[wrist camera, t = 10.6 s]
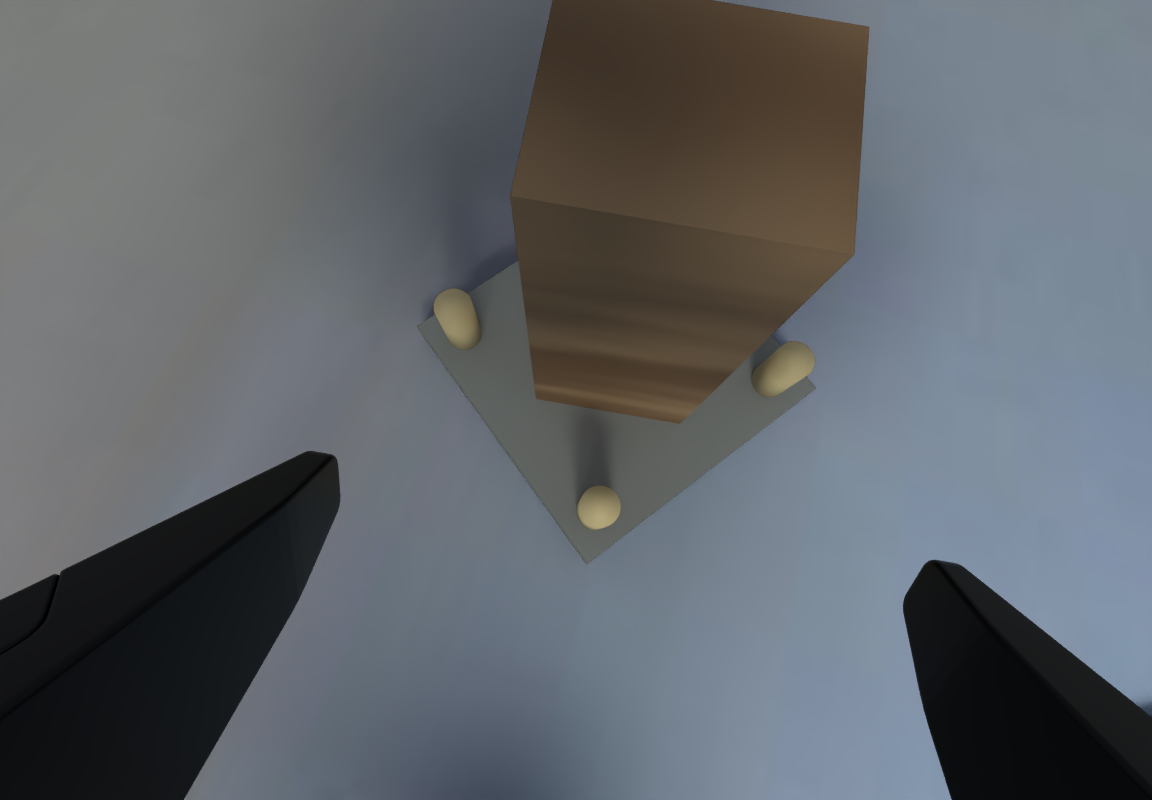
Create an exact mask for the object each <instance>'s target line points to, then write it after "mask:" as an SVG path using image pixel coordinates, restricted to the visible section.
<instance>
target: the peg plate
mask: <svg viewBox="0 0 1152 800" xmlns="http://www.w3.org/2000/svg"><path fill="white" fill-rule="evenodd" d="M434 312H435V315H433V316H432V317H430V318H429V319H427V320H426V321H424V322H423V323H421V324H419V325H418V326H417V327H418V329H419V331H420V332H421V334H422V335H423V337H424V338H425V340H426V341H427V342H428V344H429V345H430V347H431V348H432V349H433V351H434V352H435V354H436V355H437V356H438V358H439V359H440V361H441V362H442V363H443V365H444V366H445V368H446V369H447V370H448V372H449V373H450V374H451V376H452V377H453V379H454V380H455V381H456V383H457V384H458V386H459V387H460V388H461V390H462V391H463V393H464V394H465V395H466V397H467V398H468V400H469V401H470V402H471V404H472V405H473V407H474V408H475V409H476V411H477V412H478V414H479V415H480V416H481V418H482V419H483V421H484V422H485V423H486V425H487V426H488V428H489V429H490V430H491V432H492V433H493V435H494V436H495V437H496V439H497V440H498V442H499V443H500V444H501V446H502V447H503V449H504V450H505V451H506V453H507V454H508V456H509V457H510V458H511V460H512V461H513V463H514V464H515V465H516V467H517V468H518V470H519V471H520V472H521V474H522V475H523V476H524V478H525V479H526V481H527V482H528V483H529V485H530V486H531V488H532V489H533V490H534V492H535V493H536V495H537V496H538V497H539V499H540V500H541V502H542V503H543V504H544V506H545V507H546V509H547V510H548V511H549V513H550V514H551V516H552V517H553V518H554V520H555V521H556V523H557V524H558V525H559V527H560V528H561V530H562V531H563V532H564V534H565V535H566V537H567V538H568V539H569V541H570V542H571V544H572V545H573V546H574V548H575V549H576V551H577V552H578V553H579V555H580V556H581V558H582V559H583V560H584V562H585V563H586V564H588V563H589V562H590V561H592V560H593V559H594V558H596V557H597V556H598V555H599V554H601V553H602V552H603V551H605V550H606V549H607V548H609V547H610V546H611V545H613V544H614V543H615V542H616V541H618V540H619V539H620V538H622V537H623V536H624V535H626V534H627V533H628V532H629V531H631V530H632V529H633V528H635V527H636V526H637V525H639V524H640V523H641V522H642V521H644V520H645V519H646V518H648V517H649V516H650V515H652V514H653V513H654V512H656V511H657V510H658V509H659V508H661V507H662V506H663V505H665V504H666V503H667V502H669V501H670V500H671V499H672V498H674V497H675V496H676V495H678V494H679V493H680V492H682V491H683V490H684V489H685V488H687V487H688V486H689V485H691V484H692V483H693V482H695V481H696V480H697V479H699V478H700V477H701V476H702V475H704V474H705V473H706V472H708V471H709V470H710V469H712V468H713V467H714V466H715V465H717V464H718V463H719V462H721V461H722V460H723V459H725V458H726V457H727V456H729V455H730V454H731V453H732V452H734V451H735V450H736V449H738V448H739V447H740V446H742V445H743V444H744V443H745V442H747V441H748V440H749V439H751V438H752V437H753V436H755V435H756V434H757V433H758V432H760V431H761V430H762V429H764V428H765V427H766V426H768V425H769V424H770V423H772V422H773V421H774V420H775V419H777V418H778V417H779V416H781V415H782V414H783V413H785V412H786V411H787V410H788V409H790V408H791V407H792V406H794V405H795V404H796V403H798V402H799V401H800V400H801V399H803V398H804V397H805V396H807V395H808V394H809V393H811V392H812V391H813V390H815V389H816V387H815V386H814V385H813V384H812V382H811V381H810V380H809V379H808V378H807V375H809V374H810V373H811V372H812V370H813V368H814V365H815V358H814V354H813V352H812V351H811V349H810V348H809V347H808V346H807V345H805V344H804V343H801V342H798V341H790V342H787V343H785V344H783V345H782V346H781V345H780V344H779V343H778V342H777V341H776V340H775V338H774V337H773V336H772V335H771V336H770V337H769V338H768V339H767V340H766V341H765V342H764V343H763V344H762V345H761V346H760V347H759V348H758V349H757V350H756V351H755V352H754V353H753V354H751V355H750V356H749V357H748V358H747V359H746V360H745V361H744V362H743V363H742V364H741V365H740V366H739V367H738V368H737V369H736V370H735V371H734V372H733V373H732V374H731V375H730V376H729V377H728V378H727V379H726V380H725V381H724V382H723V383H722V384H721V385H720V386H719V387H718V388H717V389H716V390H714V391H713V392H712V393H711V394H710V395H709V396H708V397H707V398H706V399H705V400H704V401H703V402H702V403H701V404H700V405H699V406H698V407H697V408H696V409H695V410H694V411H693V412H692V413H691V414H690V415H689V416H688V417H687V418H686V419H685V420H684V421H683V422H682V423H681V424H677V423H671V422H666V421H660V420H654V419H648V418H642V417H637V416H631V415H625V414H619V413H613V412H607V411H602V410H596V409H590V408H584V407H578V406H573V405H567V404H561V403H555V402H549V401H544V400H538V399H536V395H535V387H534V379H533V371H532V363H531V356H530V348H529V340H528V332H527V324H526V316H525V309H524V301H523V293H522V285H521V277H520V269H519V262H518V261H516V262H515V263H513V264H512V265H510V266H509V267H507V268H506V269H504V270H503V271H501V272H499V273H498V274H496V275H495V276H493V277H492V278H490V279H489V280H487V281H486V282H484V283H483V284H481V285H479V286H478V287H476V288H475V289H473V290H472V291H470V292H469V293H466V292H464V291H463V290H460V289H455V288H453V289H447V290H445V291H443V292H441V293H440V294H439V295H438V296H437V298H436V299H435V302H434Z"/></svg>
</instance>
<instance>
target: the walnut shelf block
mask: <svg viewBox="0 0 1152 800" xmlns="http://www.w3.org/2000/svg"><path fill="white" fill-rule="evenodd" d="M868 39H869V27H868V26H862V25H856V24H850V23H844V22H838V21H832V20H826V19H820V18H814V17H808V16H802V15H796V14H790V13H784V12H778V11H772V10H766V9H760V8H755V7H749V6H743V5H737V4H731V3H725V2H719V1H713V0H553V1H552V6H551V11H550V15H549V20H548V24H547V29H546V34H545V38H544V43H543V47H542V52H541V56H540V61H539V66H538V70H537V75H536V79H535V84H534V89H533V93H532V98H531V102H530V107H529V111H528V116H527V121H526V125H525V130H524V134H523V139H522V144H521V148H520V153H519V157H518V162H517V167H516V171H515V176H514V180H513V185H512V189H511V194H510V199H511V207H512V215H513V222H514V230H515V238H516V246H517V254H518V262H519V269H520V277H521V285H522V293H523V301H524V309H525V316H526V324H527V332H528V340H529V348H530V356H531V363H532V371H533V379H534V387H535V395H536V399H538V400H544V401H549V402H555V403H561V404H567V405H573V406H578V407H584V408H590V409H596V410H602V411H607V412H613V413H619V414H625V415H631V416H637V417H642V418H648V419H654V420H660V421H666V422H671V423H677V424H681V423H682V422H683V421H684V420H685V419H686V418H687V417H688V416H689V415H690V414H691V413H692V412H693V411H694V410H695V409H696V408H697V407H698V406H699V405H700V404H701V403H702V402H703V401H704V400H705V399H706V398H707V397H708V396H709V395H710V394H711V393H712V392H713V391H714V390H716V389H717V388H718V387H719V386H720V385H721V384H722V383H723V382H724V381H725V380H726V379H727V378H728V377H729V376H730V375H731V374H732V373H733V372H734V371H735V370H736V369H737V368H738V367H739V366H740V365H741V364H742V363H743V362H744V361H745V360H746V359H747V358H748V357H749V356H750V355H751V354H753V353H754V352H755V351H756V350H757V349H758V348H759V347H760V346H761V345H762V344H763V343H764V342H765V341H766V340H767V339H768V338H769V337H770V336H771V335H772V334H773V333H774V332H775V331H776V330H777V329H778V328H779V327H780V326H781V325H782V324H783V323H784V322H785V321H786V320H787V319H788V318H789V317H791V316H792V315H793V314H794V313H795V312H796V311H797V310H798V309H799V308H800V307H801V306H802V305H803V304H804V303H805V302H806V301H807V300H808V299H809V298H810V297H811V296H812V295H813V294H814V293H815V292H816V291H817V290H818V289H819V288H820V287H821V286H822V285H823V284H824V283H825V282H826V281H827V280H829V279H830V278H831V277H832V276H833V275H834V274H835V273H836V272H837V271H838V270H839V269H840V268H841V267H842V266H843V265H844V264H845V263H846V262H847V261H848V260H849V259H850V258H851V257H852V256H853V255H854V251H855V236H856V221H857V205H858V190H859V175H860V160H861V145H862V130H863V115H864V99H865V84H866V69H867V54H868Z"/></svg>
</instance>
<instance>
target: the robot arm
mask: <svg viewBox="0 0 1152 800" xmlns="http://www.w3.org/2000/svg"><path fill="white" fill-rule="evenodd" d="M339 505H340V484H339V470H338V461H337V459H336V457H335V456H333V455H332V454H326V453H321V452H315V451H307V452H304V453H302V454H300V455H298V456H296V457H294V458H292V459H290V460H288V461H285V462H283V463H281V464H279V465H277V466H275V467H273V468H271V469H269V470H267V471H265V472H263V473H261V474H259V475H257V476H255V477H253V478H251V479H249V480H247V481H244V482H242V483H240V484H238V485H236V486H234V487H232V488H230V489H228V490H226V491H224V492H222V493H220V494H218V495H216V496H214V497H212V498H210V499H208V500H205V501H203V502H201V503H199V504H197V505H195V506H193V507H191V508H189V509H187V510H185V511H183V512H181V513H179V514H177V515H175V516H173V517H171V518H169V519H167V520H164V521H162V522H160V523H158V524H156V525H154V526H152V527H150V528H148V529H146V530H144V531H142V532H140V533H138V534H136V535H134V536H132V537H130V538H128V539H126V540H123V541H121V542H119V543H117V544H115V545H113V546H111V547H109V548H107V549H105V550H103V551H101V552H99V553H97V554H95V555H93V556H91V557H89V558H87V559H84V560H82V561H80V562H78V563H76V564H74V565H72V566H70V567H68V568H66V569H64V570H62V571H61V573H60V575H57V574H54V575H51V576H49V577H47V578H45V579H43V580H41V581H39V582H37V583H35V584H33V585H31V586H29V587H27V588H25V589H23V590H21V591H18V592H16V593H14V594H12V595H10V596H8V597H6V598H3V599H1V600H0V800H184V798H185V797H186V795H187V793H188V791H189V790H190V788H191V786H192V784H193V783H194V781H195V779H196V778H197V776H198V774H199V772H200V771H201V769H202V767H203V765H204V764H205V762H206V760H207V759H208V757H209V755H210V753H211V752H212V750H213V748H214V746H215V745H216V743H217V741H218V740H219V738H220V736H221V734H222V733H223V731H224V729H225V727H226V726H227V724H228V722H229V721H230V719H231V717H232V715H233V714H234V712H235V710H236V708H237V707H238V705H239V703H240V701H241V700H242V698H243V696H244V695H245V693H246V691H247V689H248V688H249V686H250V684H251V682H252V681H253V679H254V677H255V676H256V674H257V672H258V670H259V669H260V667H261V665H262V663H263V662H264V660H265V658H266V657H267V655H268V653H269V651H270V650H271V648H272V646H273V644H274V643H275V641H276V639H277V638H278V636H279V634H280V632H281V631H282V629H283V627H284V625H285V624H286V622H287V620H288V618H289V617H290V615H291V613H292V611H293V610H294V608H295V606H296V604H297V602H298V600H299V598H300V596H301V594H302V592H303V590H304V588H305V585H306V583H307V581H308V579H309V576H310V574H311V572H312V569H313V567H314V565H315V563H316V560H317V558H318V556H319V553H320V551H321V549H322V546H323V544H324V542H325V540H326V537H327V535H328V533H329V530H330V528H331V526H332V523H333V521H334V519H335V517H336V514H337V512H338V509H339ZM903 613H904V618H905V623H906V628H907V633H908V638H909V642H910V647H911V652H912V657H913V662H914V667H915V672H916V677H917V682H918V687H919V691H920V696H921V700H922V704H923V708H924V712H925V716H926V719H927V723H928V726H929V729H930V733H931V736H932V739H933V742H934V745H935V748H936V752H937V755H938V758H939V761H940V764H941V767H942V771H943V774H944V777H945V780H946V783H947V787H948V790H949V793H950V796H951V799H952V800H1152V717H1151V716H1150V715H1149V714H1147V713H1146V712H1145V711H1144V710H1142V709H1141V708H1140V707H1139V706H1137V705H1136V704H1135V703H1134V702H1132V701H1131V700H1130V699H1129V698H1127V697H1126V696H1125V695H1124V694H1122V693H1121V692H1120V691H1118V690H1117V689H1116V688H1115V687H1113V686H1112V685H1111V684H1110V683H1108V682H1107V681H1106V680H1105V679H1103V678H1102V677H1101V676H1100V675H1098V674H1097V673H1096V672H1095V671H1093V670H1092V669H1091V668H1090V667H1088V666H1087V665H1086V664H1085V663H1083V662H1082V661H1081V660H1080V659H1078V658H1077V657H1076V656H1075V655H1073V654H1072V653H1071V652H1070V651H1068V650H1067V649H1066V648H1065V647H1063V646H1062V645H1061V644H1060V643H1058V642H1057V641H1056V640H1054V639H1053V638H1052V637H1051V636H1049V635H1048V634H1047V633H1046V632H1044V631H1043V630H1042V629H1041V628H1039V627H1038V626H1037V625H1036V624H1034V623H1033V622H1032V621H1031V620H1029V619H1028V618H1027V617H1026V616H1024V615H1023V614H1022V613H1021V612H1019V611H1018V610H1017V609H1016V608H1014V607H1013V606H1012V605H1011V604H1009V603H1008V602H1007V601H1006V600H1004V599H1003V598H1002V597H1001V596H999V595H998V594H997V593H996V592H994V591H993V590H992V589H991V588H989V587H988V586H987V585H985V584H984V583H983V582H982V581H980V580H979V579H978V578H977V577H975V576H974V575H973V574H972V573H970V572H969V571H968V570H967V569H965V568H964V567H963V566H961V565H959V564H956V563H951V562H946V561H940V560H930V561H928V562H927V563H925V565H924V566H923V567H922V569H921V571H920V572H919V574H918V576H917V577H916V579H915V580H914V582H913V584H912V585H911V587H910V588H909V590H908V592H907V593H906V595H905V598H904V602H903Z"/></svg>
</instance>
